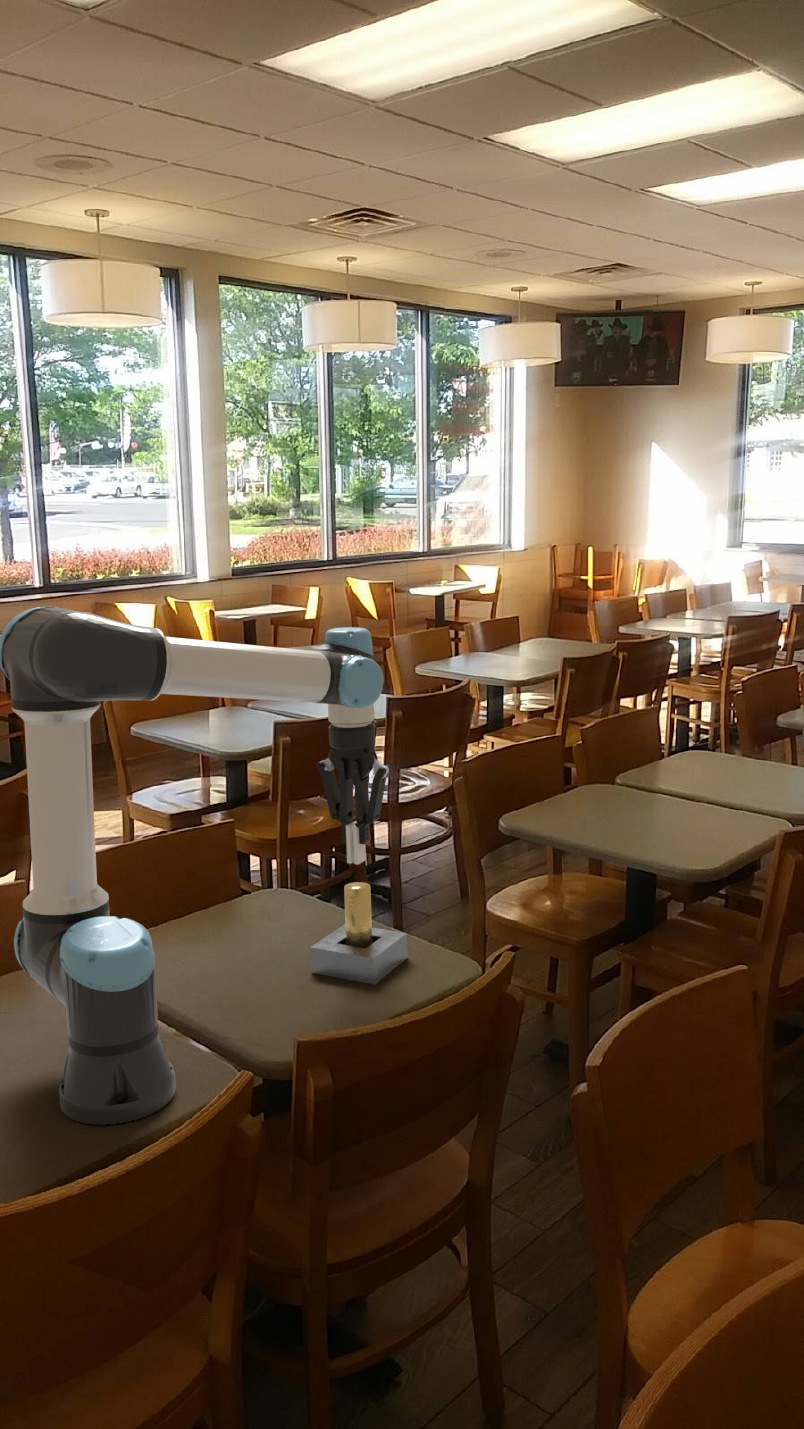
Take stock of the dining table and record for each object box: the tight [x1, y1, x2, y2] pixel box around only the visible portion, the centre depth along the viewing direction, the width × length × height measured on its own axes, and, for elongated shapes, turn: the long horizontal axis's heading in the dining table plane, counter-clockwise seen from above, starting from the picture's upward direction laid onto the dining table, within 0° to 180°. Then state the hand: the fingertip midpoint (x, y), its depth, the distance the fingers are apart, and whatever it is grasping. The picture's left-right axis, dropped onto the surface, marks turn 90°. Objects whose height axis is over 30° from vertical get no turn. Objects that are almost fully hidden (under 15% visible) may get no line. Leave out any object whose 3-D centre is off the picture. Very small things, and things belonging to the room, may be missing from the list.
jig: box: [310, 923, 408, 985], centre depth 194 cm, size 12×12×4 cm
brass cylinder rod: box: [343, 881, 373, 949], centre depth 193 cm, size 4×4×14 cm
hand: (356, 861), depth 191 cm, fingers closed
